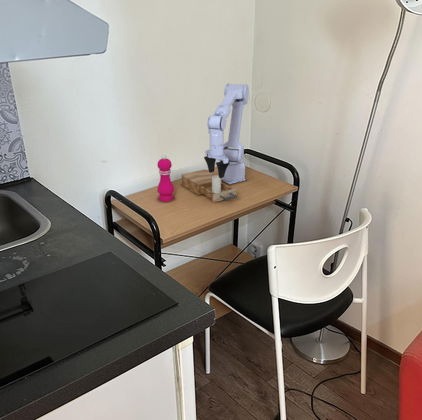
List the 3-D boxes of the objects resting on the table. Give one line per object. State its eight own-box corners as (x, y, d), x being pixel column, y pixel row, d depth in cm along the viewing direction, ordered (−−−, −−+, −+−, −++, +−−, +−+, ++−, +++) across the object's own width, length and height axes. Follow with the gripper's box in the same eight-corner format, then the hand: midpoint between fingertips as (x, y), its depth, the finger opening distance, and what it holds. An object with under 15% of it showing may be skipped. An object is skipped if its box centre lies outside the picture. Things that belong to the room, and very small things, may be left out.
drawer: (242, 199, 187) (242, 192, 186) (219, 206, 183) (219, 198, 181) (218, 186, 202) (218, 179, 201) (197, 191, 197) (197, 184, 196)
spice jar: (217, 189, 196) (217, 174, 193) (222, 192, 193) (223, 177, 190) (210, 191, 195) (210, 176, 192) (215, 194, 191) (215, 179, 188)
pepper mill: (161, 203, 190) (159, 159, 181) (155, 197, 196) (152, 154, 187) (177, 200, 192) (175, 156, 184) (170, 194, 198) (168, 151, 190)
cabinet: (221, 189, 201) (222, 178, 199) (198, 195, 196) (198, 184, 194) (204, 179, 213) (204, 169, 211) (181, 184, 208) (181, 174, 206)
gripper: (199, 141, 189) (199, 171, 195) (218, 150, 177) (218, 181, 183) (213, 138, 192) (213, 168, 197) (232, 147, 180) (232, 178, 186)
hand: (216, 174), depth 190 cm, fingers open, 7 cm apart
